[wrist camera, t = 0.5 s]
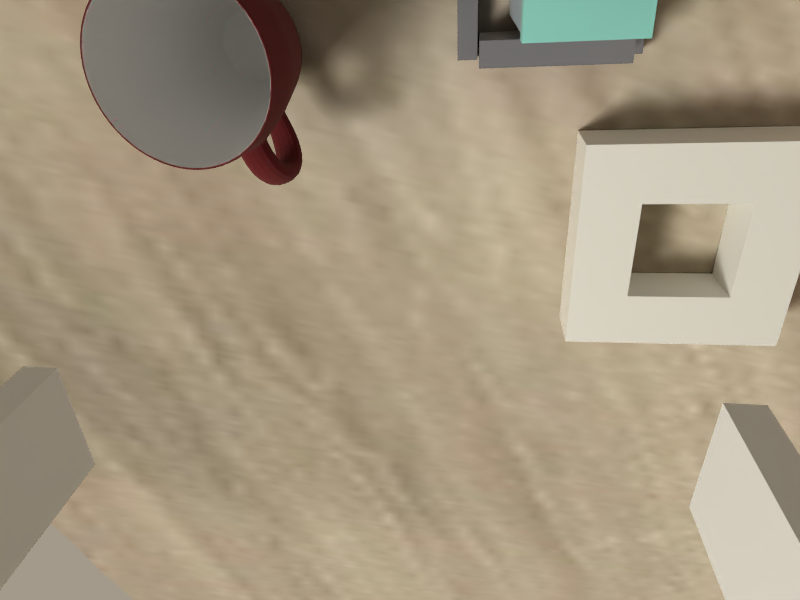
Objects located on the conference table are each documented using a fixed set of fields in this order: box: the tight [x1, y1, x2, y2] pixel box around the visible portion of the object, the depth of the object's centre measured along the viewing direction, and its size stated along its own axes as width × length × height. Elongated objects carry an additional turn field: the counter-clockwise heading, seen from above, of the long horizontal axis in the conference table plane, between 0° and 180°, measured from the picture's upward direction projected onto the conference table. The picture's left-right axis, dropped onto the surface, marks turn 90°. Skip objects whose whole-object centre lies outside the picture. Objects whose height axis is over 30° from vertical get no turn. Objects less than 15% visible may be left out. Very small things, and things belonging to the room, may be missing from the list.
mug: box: [80, 0, 302, 185], centre depth 28 cm, size 10×8×10 cm
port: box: [560, 126, 800, 346], centre depth 33 cm, size 12×12×3 cm
